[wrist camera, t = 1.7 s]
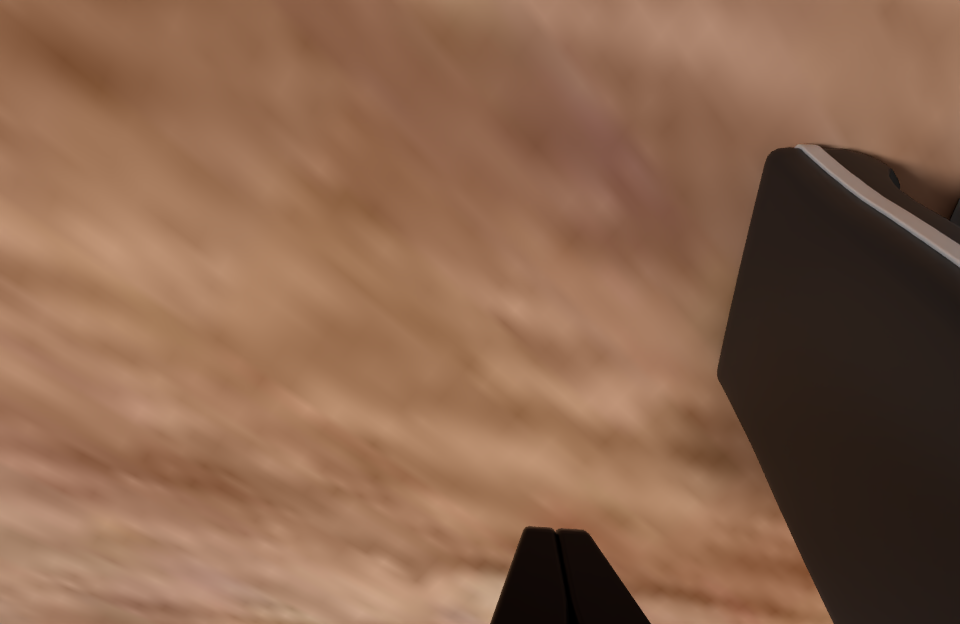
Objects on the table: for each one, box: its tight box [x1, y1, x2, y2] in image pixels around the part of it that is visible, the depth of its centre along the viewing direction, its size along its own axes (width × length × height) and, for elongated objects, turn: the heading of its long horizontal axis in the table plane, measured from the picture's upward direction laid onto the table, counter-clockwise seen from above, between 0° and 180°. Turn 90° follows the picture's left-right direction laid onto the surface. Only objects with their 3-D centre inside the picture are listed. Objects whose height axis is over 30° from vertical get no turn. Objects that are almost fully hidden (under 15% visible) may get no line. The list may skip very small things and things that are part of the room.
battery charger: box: [717, 144, 960, 624], centre depth 13 cm, size 7×4×11 cm, turn 179°
